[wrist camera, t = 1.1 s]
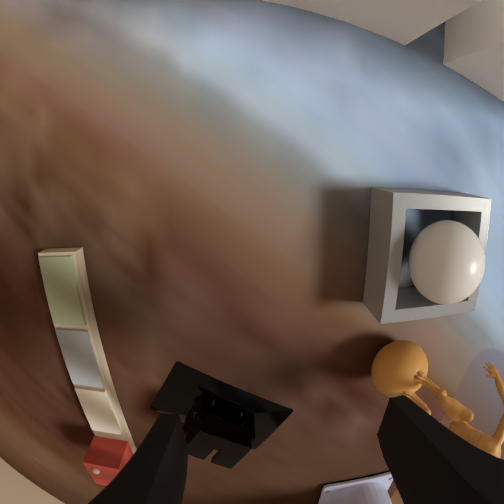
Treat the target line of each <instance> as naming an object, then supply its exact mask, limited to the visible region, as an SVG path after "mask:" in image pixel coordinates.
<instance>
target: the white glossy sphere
mask: <svg viewBox="0 0 504 504" xmlns="http://www.w3.org/2000/svg"><path fill="white" fill-rule="evenodd" d="M408 264H409V273H410V276H411V279H412V281H413V284H414V285H415V287H416V288H417V290H418V291H419V292H420V293H421V294H422V295H423V296H424V297H425V298H427V299H429V300H430V301H433V302H435V303H438V304H454V303H457V302H460V301H462V300H464V299H466V298H467V297H469V296H470V295H471V294H472V293H473V292H474V291H475V290H476V288H477V287H478V285H479V284H480V282H481V279H482V277H483V274H484V269H485V255H484V250H483V247H482V244H481V242H480V240H479V238H478V237H477V235H476V234H475V233H474V232H473V231H472V230H471V229H470V228H468V227H467V226H466V225H464V224H462V223H460V222H457V221H452V220H442V221H438V222H435V223H432V224H430V225H428V226H427V227H425V228H424V229H423V230H422V231H421V232H420V233H419V234H418V235H417V237H416V238H415V240H414V242H413V244H412V246H411V249H410V253H409V261H408Z"/></svg>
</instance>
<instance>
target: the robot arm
mask: <svg viewBox="0 0 504 504" xmlns="http://www.w3.org/2000/svg"><path fill="white" fill-rule="evenodd" d="M377 435H378V439H379V443H380V447H381V450H382V453H383V457H384V459H385V461H386V464H387V466H388V468H389V471H390V472H387V473H383V474H379V475H375V476H370V477H366V478H361V479H356V480H351V481H346V482H340V483H334V484H328V485H325V486H324V487H323V489H322V492H321V495H320V499H319V502H318V504H392V502H391V500H390V497H389V495H388V492H387V490H388V488H389V487H390V485H391V483H392V481H393V480H394V482H395V484H396V486H397V489H398V491H399V493H400V495H401V498H402V500H403V502H404V504H504V460H502V459H500V458H498V457H495V456H493V455H491V454H489V453H487V452H485V451H483V450H481V449H479V448H477V447H475V446H474V445H472V444H470V443H469V442H467V441H466V440H464V439H462V438H461V437H459V436H458V435H456V434H455V433H453V432H452V431H451V430H449V429H448V428H446V427H445V426H444V425H442V424H441V423H440V422H438V421H437V420H436V419H435V418H433V417H432V416H431V415H430V414H428V413H427V412H426V411H424V410H423V409H422V408H421V407H419V406H418V405H417V404H416V403H414V402H413V401H412V400H411V399H409V398H408V397H407V396H405V395H401V396H397V397H392V398H390V399H389V402H388V405H387V408H386V411H385V414H384V417H383V420H382V423H381V426H380V428H379V431H378V434H377ZM187 460H188V448H187V444H186V440H185V436H184V432H183V428H182V424H181V420H180V415H179V414H164V413H161V414H160V415H159V416H158V418H157V419H156V421H155V423H154V425H153V426H152V428H151V429H150V431H149V433H148V434H147V436H146V437H145V439H144V440H143V442H142V443H141V445H140V446H139V447H138V449H137V450H136V451H135V453H134V454H133V456H132V457H131V458H130V460H129V461H128V462H127V463H126V465H125V466H124V467H123V468H122V469H121V471H120V472H119V473H118V474H117V475H116V477H115V478H114V479H113V480H112V481H111V482H110V483H109V484H108V485H107V486H106V487H105V488H104V489H103V490H102V491H101V492H100V493H99V494H98V495H97V496H96V497H95V498H94V499H93V500H92V501H90V502H89V503H88V504H182V498H183V493H184V487H185V482H186V476H187Z"/></svg>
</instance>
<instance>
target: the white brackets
mask: <svg viewBox="0 0 504 504" xmlns="http://www.w3.org/2000/svg"><path fill="white" fill-rule="evenodd" d="M262 1H267V2H272V3H277V4H282V5H286V6H291V7H295V8H299V9H303V10H306V11H310V12H314V13H317V14H321V15H324V16H328V17H331V18H334V19H337V20H340V21H343V22H346V23H349V24H352V25H355V26H358V27H361V28H363V29H366V30H369V31H371V32H374V33H376V34H379V35H381V36H384V37H386V38H389V39H391V40H393V41H396V42H398V43H400V44H402V45H407V44H409V43H410V42H412V41H413V40H415V39H417V38H418V37H420V36H421V35H423V34H425V33H426V32H428V31H430V30H431V29H433V28H435V27H436V26H438V25H440V24H441V23H443V22H445V41H444V59H443V65H445V66H447V67H448V68H450V69H452V70H454V71H455V72H457V73H459V74H461V75H462V76H464V77H466V78H467V79H469V80H471V81H472V82H474V83H475V84H477V85H479V86H480V87H482V88H483V89H485V90H486V91H488V92H489V93H491V94H492V95H494V96H495V97H497V98H498V99H500V100H501V101H502V102H504V0H262Z"/></svg>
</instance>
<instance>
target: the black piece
mask: <svg viewBox="0 0 504 504" xmlns="http://www.w3.org/2000/svg"><path fill="white" fill-rule="evenodd" d="M151 409H153V410H155V411H157V412H160V413H164V414H179V415H180V420H181V422H182V423H184V426H183V427H182V428H183V432H184V436H185V440H186V444H187V448H188V454H189V455H192V456H194V457H197V458H200V459H203V460H204V459H205V458H206V457H207V456H208V455H209V454H210V453H211V452H212V451H213V449H215V450H218V452H217V453H216V454H215V455H214V456H213V457H212V460H211V462H212V463H214V464H217V465H220V466H224V467H227V468H230V469H231V468H232V467H233V466H234V465H235V464H237V463H238V462H239V461H240V460H241V459H242V458H243V457H244V456H245V455H246V454H247V453H248V452H249V451H250V450H251V449H256V448H257V447H258V446H259V445H260V444H261V443H262V442H263V441H265V440H266V439H267V438H268V437H269V436H270V435H271V434H272V433H273V432H274V431H275V430H276V429H277V428H278V427H279V426H280V424H281V423H282V422H283V421H284V420H285V419H286V418H287V417H288V416H289V415H290V414H291V413H292V412H293V410H292V409H290V408H287V407H284V406H281V405H279V404H276V403H273V402H271V401H268V400H266V399H263V398H260V397H258V396H255V395H253V394H250V393H248V392H245V391H243V390H241V389H238V388H236V387H233V386H231V385H229V384H226V383H224V382H222V381H220V380H217V379H215V378H213V377H211V376H208V375H206V374H204V373H202V372H200V371H198V370H195V369H193V368H191V367H189V366H187V365H185V364H183V363H181V362H176V363H175V364H174V366H173V368H172V370H171V372H170V373H169V375H168V377H167V379H166V380H165V382H164V384H163V386H162V387H161V389H160V391H159V393H158V395H157V396H156V398H155V400H154V402H153V404H152V405H151Z"/></svg>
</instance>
